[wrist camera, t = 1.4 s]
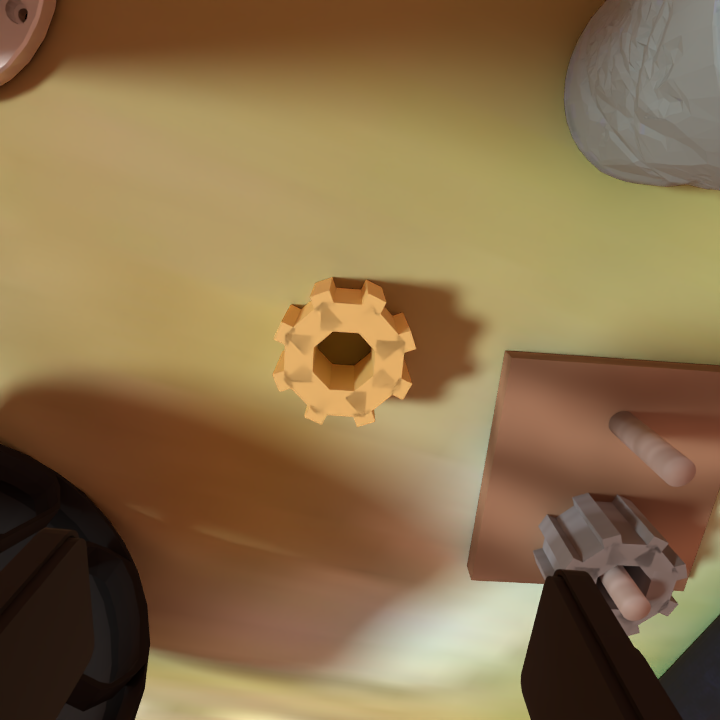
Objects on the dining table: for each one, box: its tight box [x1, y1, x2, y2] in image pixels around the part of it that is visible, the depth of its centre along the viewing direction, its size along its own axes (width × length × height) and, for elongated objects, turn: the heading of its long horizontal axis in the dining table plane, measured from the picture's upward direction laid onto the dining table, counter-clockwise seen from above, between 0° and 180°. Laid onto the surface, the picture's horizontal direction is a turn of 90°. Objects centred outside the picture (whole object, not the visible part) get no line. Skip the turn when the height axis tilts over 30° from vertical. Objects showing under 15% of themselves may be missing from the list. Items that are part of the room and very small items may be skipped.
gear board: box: [467, 351, 720, 636], centre depth 26 cm, size 14×13×6 cm
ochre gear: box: [273, 277, 416, 427], centre depth 25 cm, size 6×6×4 cm
